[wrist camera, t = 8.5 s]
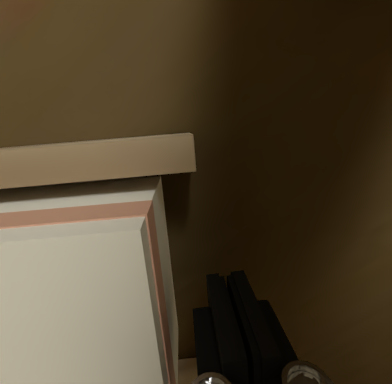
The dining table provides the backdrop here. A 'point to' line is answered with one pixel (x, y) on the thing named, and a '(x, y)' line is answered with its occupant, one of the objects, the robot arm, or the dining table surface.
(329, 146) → the dining table surface
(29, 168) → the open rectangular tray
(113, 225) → the carton
